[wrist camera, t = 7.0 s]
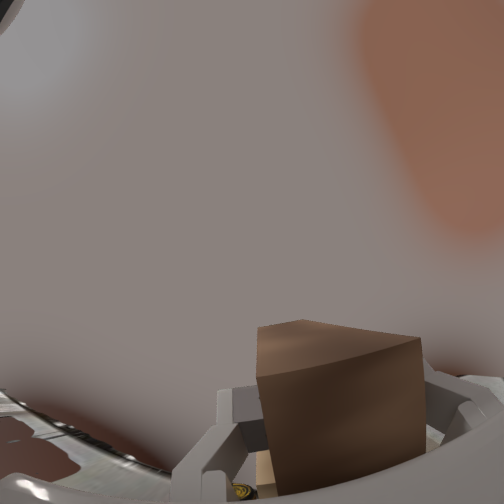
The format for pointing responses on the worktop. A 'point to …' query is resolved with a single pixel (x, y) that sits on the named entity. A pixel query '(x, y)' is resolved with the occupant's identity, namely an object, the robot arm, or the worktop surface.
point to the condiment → (244, 492)
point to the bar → (338, 402)
